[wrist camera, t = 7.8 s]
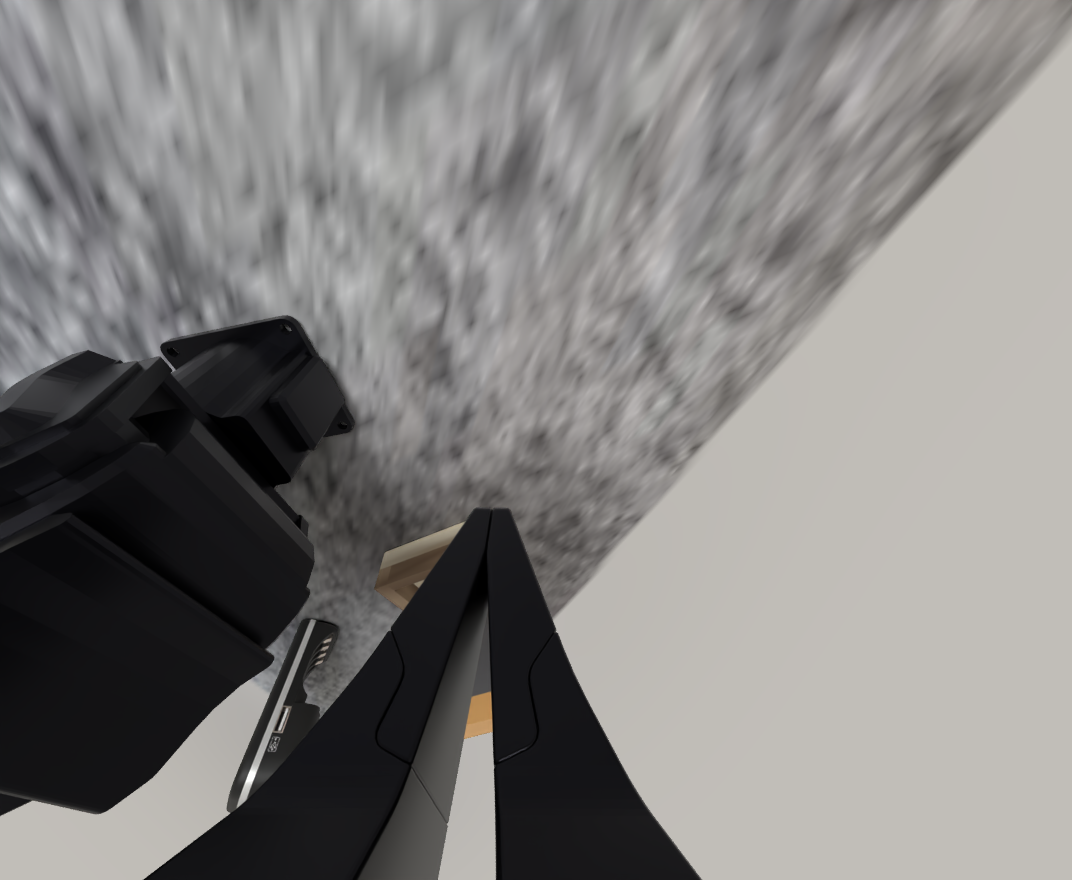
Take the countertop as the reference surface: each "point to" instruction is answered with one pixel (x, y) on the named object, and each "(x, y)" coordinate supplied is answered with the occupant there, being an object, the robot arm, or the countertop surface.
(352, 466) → the countertop surface
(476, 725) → the fader lever
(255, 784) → the battery charger
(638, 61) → the countertop surface
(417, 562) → the tray
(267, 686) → the countertop surface
